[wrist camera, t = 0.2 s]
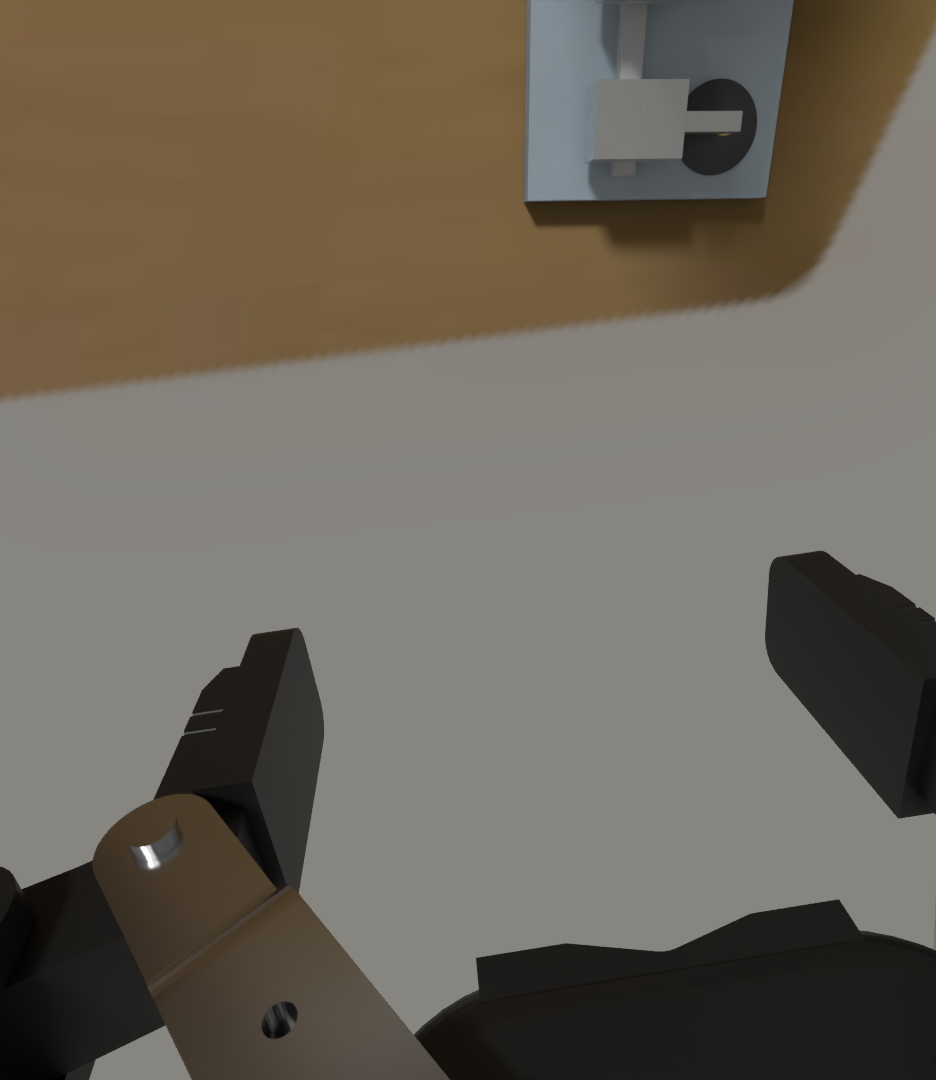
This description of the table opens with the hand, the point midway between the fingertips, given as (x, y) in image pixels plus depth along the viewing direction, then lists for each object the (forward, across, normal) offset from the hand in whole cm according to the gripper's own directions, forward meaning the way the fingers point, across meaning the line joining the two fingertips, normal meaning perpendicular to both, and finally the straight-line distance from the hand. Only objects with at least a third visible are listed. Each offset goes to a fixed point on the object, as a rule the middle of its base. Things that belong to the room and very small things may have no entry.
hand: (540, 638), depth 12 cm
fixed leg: (+27, -11, -9) cm, 31 cm away
